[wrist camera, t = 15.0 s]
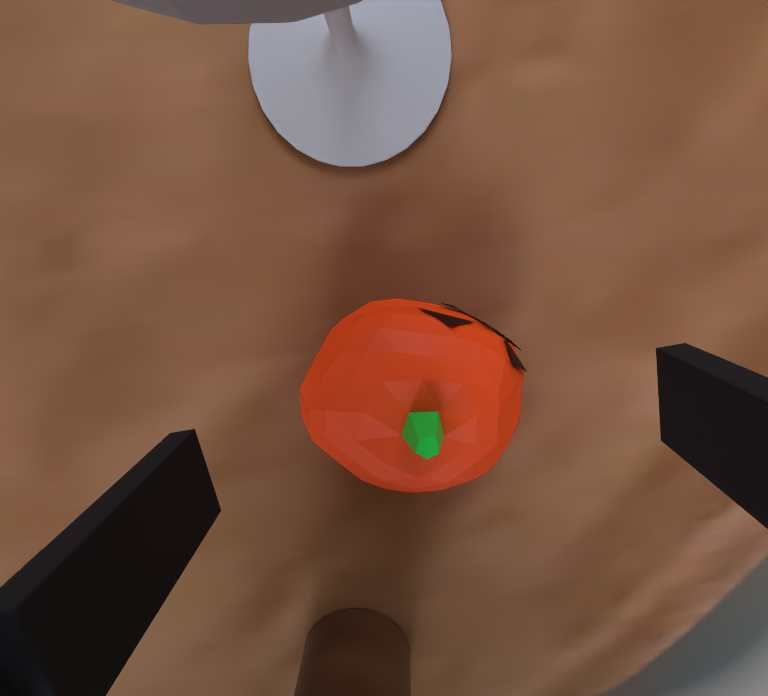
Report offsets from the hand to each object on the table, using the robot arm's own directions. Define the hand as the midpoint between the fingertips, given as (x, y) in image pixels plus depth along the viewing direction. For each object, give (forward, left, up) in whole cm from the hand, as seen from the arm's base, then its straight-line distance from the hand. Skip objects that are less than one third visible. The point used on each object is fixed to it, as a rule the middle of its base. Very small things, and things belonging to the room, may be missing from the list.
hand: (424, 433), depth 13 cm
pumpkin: (+1, 0, -7) cm, 7 cm away
